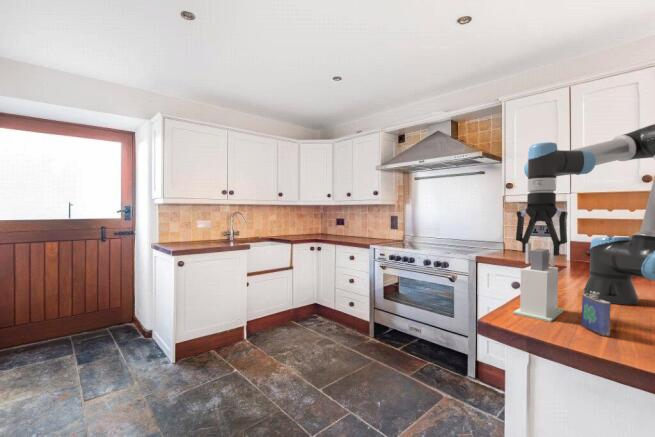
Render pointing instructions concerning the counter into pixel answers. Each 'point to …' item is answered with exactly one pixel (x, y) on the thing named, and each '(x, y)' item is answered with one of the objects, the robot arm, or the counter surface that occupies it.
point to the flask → (595, 314)
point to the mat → (549, 318)
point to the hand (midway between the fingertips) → (539, 264)
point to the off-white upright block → (539, 285)
